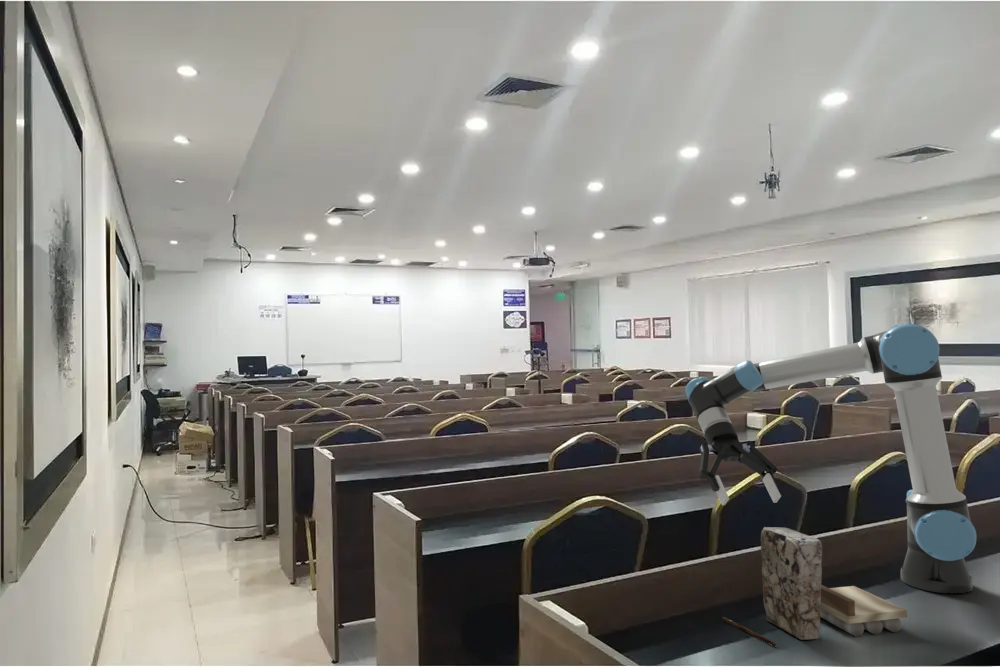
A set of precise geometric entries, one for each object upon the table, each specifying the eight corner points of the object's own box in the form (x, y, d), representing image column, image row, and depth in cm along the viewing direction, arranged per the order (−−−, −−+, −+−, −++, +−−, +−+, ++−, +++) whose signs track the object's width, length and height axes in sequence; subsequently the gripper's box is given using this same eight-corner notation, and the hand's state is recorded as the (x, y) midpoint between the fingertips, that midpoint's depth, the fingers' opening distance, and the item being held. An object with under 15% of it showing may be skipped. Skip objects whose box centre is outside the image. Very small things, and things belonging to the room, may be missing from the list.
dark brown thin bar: (777, 648, 133) (777, 643, 133) (775, 649, 133) (775, 643, 133) (723, 621, 147) (723, 616, 147) (722, 621, 147) (722, 616, 147)
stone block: (828, 638, 137) (825, 538, 137) (800, 643, 135) (798, 542, 135) (781, 614, 149) (779, 523, 150) (755, 619, 147) (753, 526, 148)
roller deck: (854, 605, 154) (853, 572, 154) (907, 632, 139) (906, 595, 140) (800, 611, 151) (799, 577, 151) (849, 639, 136) (848, 601, 137)
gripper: (755, 437, 179) (791, 507, 164) (668, 439, 174) (697, 511, 159) (767, 419, 174) (805, 489, 159) (678, 420, 169) (709, 494, 154)
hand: (751, 501), depth 159 cm, fingers open, 13 cm apart
